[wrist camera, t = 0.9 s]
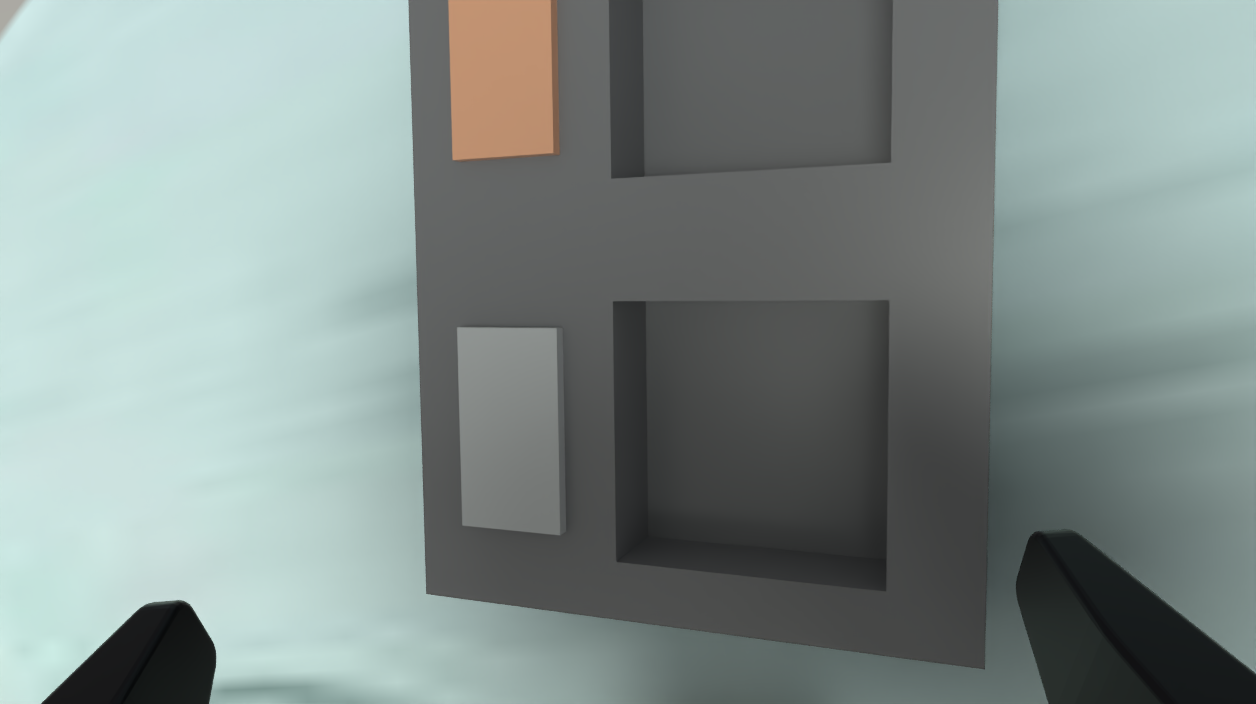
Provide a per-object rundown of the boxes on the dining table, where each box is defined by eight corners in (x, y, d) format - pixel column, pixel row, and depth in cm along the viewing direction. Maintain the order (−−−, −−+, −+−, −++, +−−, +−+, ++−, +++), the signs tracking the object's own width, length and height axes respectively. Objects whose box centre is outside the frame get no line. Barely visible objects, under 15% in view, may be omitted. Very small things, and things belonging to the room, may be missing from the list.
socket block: (982, 612, 19) (985, 676, 16) (491, 556, 23) (418, 597, 20) (998, -166, 18) (1003, -259, 15) (476, -73, 22) (396, -130, 19)
